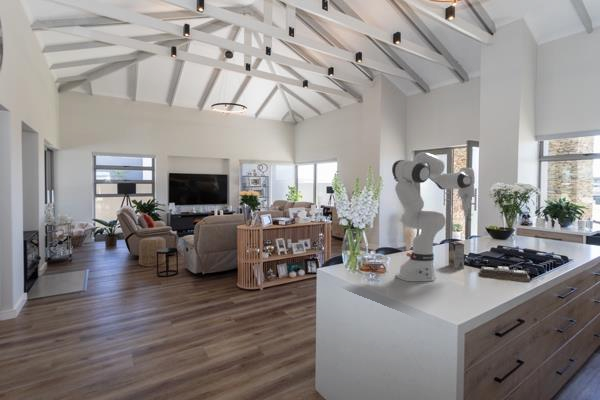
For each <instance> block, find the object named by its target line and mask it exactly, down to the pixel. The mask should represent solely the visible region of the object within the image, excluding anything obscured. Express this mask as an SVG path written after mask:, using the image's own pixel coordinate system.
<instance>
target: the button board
mask: <svg viewBox="0 0 600 400" xmlns="http://www.w3.org/2000/svg"><path fill="white" fill-rule="evenodd" d="M483 267H484V266H481V268H480V269H479V277H482V278H483V277H484V278H485V277H486V278H490V279H491V278H492V279H502V280H510V281H518V282H519V281H520V282H525V281H528V282H529V283H531V277H530V276H529V274H528V272H527V271H526V270H523V271H524V272H525V273H516V272H513V270H514V269H509V272H507V271H498V267H492V268H493V270H488V269H483ZM528 282H527V283H528Z"/></svg>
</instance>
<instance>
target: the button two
mask: <svg viewBox="0 0 600 400" xmlns="http://www.w3.org/2000/svg"><path fill="white" fill-rule="evenodd" d="M512 270H513V272H516V273H525V272H524V271H525V270H519V269H512Z"/></svg>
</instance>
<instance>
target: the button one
mask: <svg viewBox="0 0 600 400" xmlns="http://www.w3.org/2000/svg"><path fill="white" fill-rule="evenodd" d="M497 268H498V271H507V272H509V267H508V266H499V265H498V266H497Z"/></svg>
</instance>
